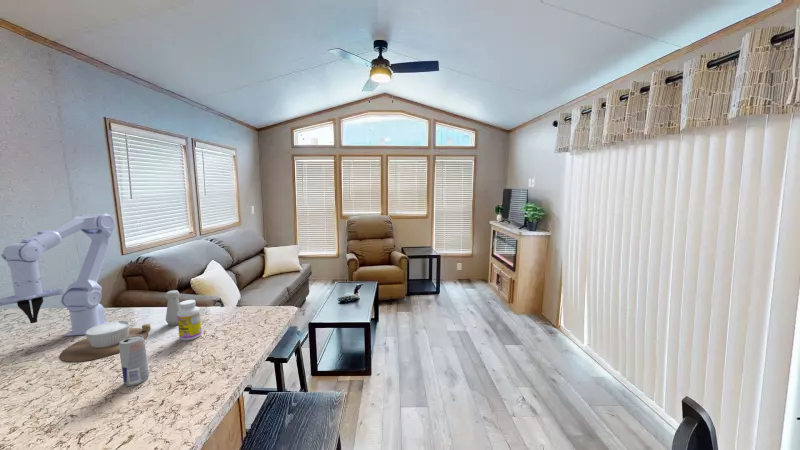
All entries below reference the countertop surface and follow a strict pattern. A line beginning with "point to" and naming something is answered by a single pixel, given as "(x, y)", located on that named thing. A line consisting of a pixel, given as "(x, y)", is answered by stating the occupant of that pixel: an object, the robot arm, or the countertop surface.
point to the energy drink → (133, 360)
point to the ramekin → (108, 333)
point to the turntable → (87, 352)
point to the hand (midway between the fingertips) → (33, 322)
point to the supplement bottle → (189, 320)
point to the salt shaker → (172, 307)
